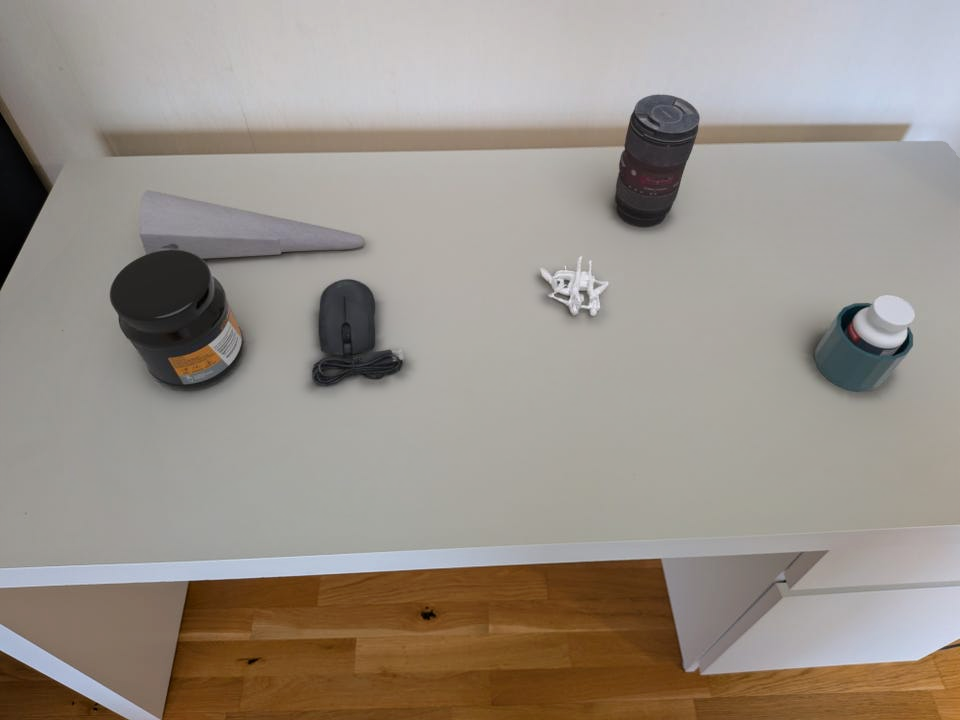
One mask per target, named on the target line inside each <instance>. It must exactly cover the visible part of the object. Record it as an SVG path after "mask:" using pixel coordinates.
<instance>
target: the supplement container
mask: <svg viewBox="0 0 960 720" xmlns="http://www.w3.org/2000/svg"><path fill="white" fill-rule="evenodd" d="M109 300H110V303H111V306H112V307H113V309H114V311H115V313H116V314H117V316H118V317H117V318H118V325H119V327H120V331H122V333H123V335H124V336H125V337H126V339H128V341H130V343H131V344H132V346H133V348H134V349H135V351H136V352H137V353H138V355H139V357H140V358H141V360H142V361H143V363H144V365H145V367H146V368H147V370H148V372H149V374H150V375H151V376H152V378H154V379H155V381H157V382H159V384H161V385H163V386H165V387H167V388H170V389H174V390H177V391H194V390H200V389H204V388H207V387H211V386H212V385H214V384H215V385H216V384H217V383H218V382H221V381H222V380H224V379H225V378H226V377H228V376H229V375H230V374H231V373H232V372H233V371H234V370H235V369H236V367H237V366H238V364H239V362H240V361H241V359H242V357H243V354H244V350H245V337H244V334H243V331H242V329H241V327H240V326H239V324H238V322H237V319H236V316H235V315H234V312H233V310H232V307H231V306H230V303H229V301H228V299H227V293H226V291H225V289H224V286H223V285H222V283H221V282H220V281H219V280H218V279H217V278H216V277H215V276H213V273H212V272H211V269H210V268H209V266H208V264H207V262H206V261H205V260H204V259H201V258H200V257H199V256H197V255H195V254H193V253H190V252H187V251H182V250H162V251H157V252H153V253H150V254H144V255H142V256H139V257H138V258H136V259H134V260H132V261H131V262H129V263H128V264H126V265H125V266H124V267H123V268H122V269H121V270H120V271H119V272H118V273H117V275H116V276H115V278H114V279H113V281H112V283H111V286H110V289H109Z"/></svg>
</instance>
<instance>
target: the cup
mask: <svg viewBox="0 0 960 720" xmlns="http://www.w3.org/2000/svg"><path fill="white" fill-rule="evenodd" d="M871 304H872V303H871V302H855V303H852V304H848V305H846V306H844V307H843V308H842V309H841V310H840V311H839V312H838V314H837V315H836V316H835V318H834V319H833V321H832V323H831V324H830V326H829V327H828V328H827V330H826V332H825V333H824V335H823V336H822V338H821V339H820V341H819V342H818V344H817V346H816V348H815V350H814V361H815V365H816V368H817V369H818V370H819V372H820V373H821V374H822V376H824V377H825V378H826V379H827V380H828V381H830V382H831V384H834V385H836V386H837V387H840V388H842V389H844V390H847V391H851V392H862V393H863V392H870V391H873V390H875V389H877V388H879V387H880V386H881V385H882V384H883V383H885V381H886V380H887V379H888V377H889V376H890V375H891V374H892V373H893V372H894V370H895V369H896V368H897V367H898V366H899V365H900V363H902V361H903V360H904V358H906V356H907V355H908V354H909V352H910V351H911V350H912V348H913V347H914V334H913V332H912V330H911V329H910V326H909V327H908V328H907V337H906V339H905V341H904V342H903V344H902V345H901V346H900V347H899V348H898V350H897V351H896V352H895V353H894V354H893V356H878V355H875V354H871V353H867V352H865V351H864V350H862V349H860V348H858V347H857V346H855V345H854V344H853V343H852V342H851V341H850V340H849V339H848V338H847V337H846V336H845V335H844V331H845V329H846V328H847V326H848V325H849V323H850V322H851V321H852V319H853V318H854V317H855V315H856V314H857V313H858V312H859V311H860V310H862V309H864V308H867V307H870V306H871Z"/></svg>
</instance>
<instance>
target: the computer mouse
mask: <svg viewBox="0 0 960 720" xmlns="http://www.w3.org/2000/svg"><path fill="white" fill-rule="evenodd" d="M319 299H320V300H319V312H318V324H317V325H318V326H317V327H318V339H319V347H320V350H321V352H323V353H326V354H327V355H329V357H328V356H327V357H326V356H325V357H323V358H321V359H319V361H316V362H315V364H314V365H313V367H312V370H311V373H312V374H311V379H312V381H313V382H314V383H315V384H317V385H319V386H324V387H325V386H330V385H334V384H336V383H337V382H339V381H341V380H342V379H344V378H346V377H349V376H351V375H354V376H357V375H358V374H360V375H361V376H363V377H365V378H368V379H370V380H381V379H382V378H384V376H385V375H391V374H393V373H397V372H399V371H400V370H401V369H402V367H403V363H404V362H403V361H404V360H405V359H404V352H403V349H396V350H391V349H386V350H378V351H372V352H370V353H368V354H365V355H363V356H362V357H356V358H352V355H356V354H361V353H365V352H368V351H370V350H371V349H373V348H375V346H376V325H375V323H376V322H375V314H376V301H375V297H374V294H373V291H372V290H371V289H370V287H369V286H368V285H366V284H365V283H363V282H361V281H359V280H356V279H351V278H345V279H340V280H337V281H334V282H333V283H331V284H329V285H328V286H326V287H325V288H324V289H323V291H322V292H321V295H320V298H319ZM331 356H342V357H343V356H345V358H341V357H340V358H338V357H331ZM336 369H338V370H340V371H338V372H336V373H332V374H327V373H325V371H327V370H336ZM341 369H342V370H341ZM372 375H376V376H372Z"/></svg>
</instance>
